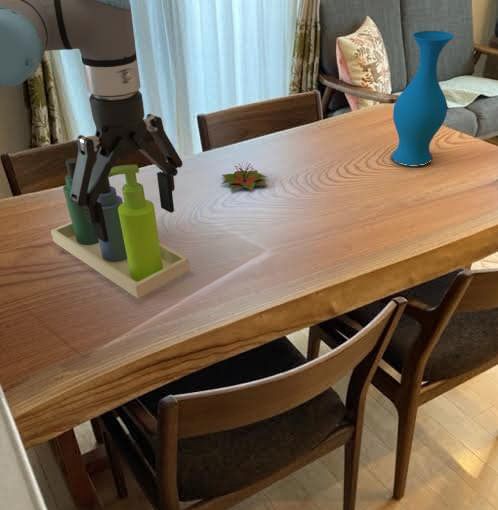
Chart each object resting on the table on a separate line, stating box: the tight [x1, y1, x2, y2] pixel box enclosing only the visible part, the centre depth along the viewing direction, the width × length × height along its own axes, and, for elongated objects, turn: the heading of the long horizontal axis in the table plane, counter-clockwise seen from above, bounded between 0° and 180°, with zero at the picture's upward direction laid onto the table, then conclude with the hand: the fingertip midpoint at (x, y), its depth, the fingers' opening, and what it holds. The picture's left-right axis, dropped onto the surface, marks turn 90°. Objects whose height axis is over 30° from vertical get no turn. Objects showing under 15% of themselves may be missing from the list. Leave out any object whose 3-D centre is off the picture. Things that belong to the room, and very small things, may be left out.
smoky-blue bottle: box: [97, 177, 127, 262], centre depth 97 cm, size 6×6×16 cm
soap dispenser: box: [107, 164, 163, 281], centre depth 91 cm, size 6×7×20 cm
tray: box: [50, 221, 190, 299], centre depth 101 cm, size 28×12×3 cm, turn 46°
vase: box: [391, 30, 455, 168], centre depth 125 cm, size 12×13×28 cm
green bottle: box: [62, 157, 99, 245], centre depth 102 cm, size 6×6×16 cm
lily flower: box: [220, 162, 269, 192], centre depth 125 cm, size 12×12×5 cm
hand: (136, 223), depth 91 cm, fingers open, 13 cm apart
